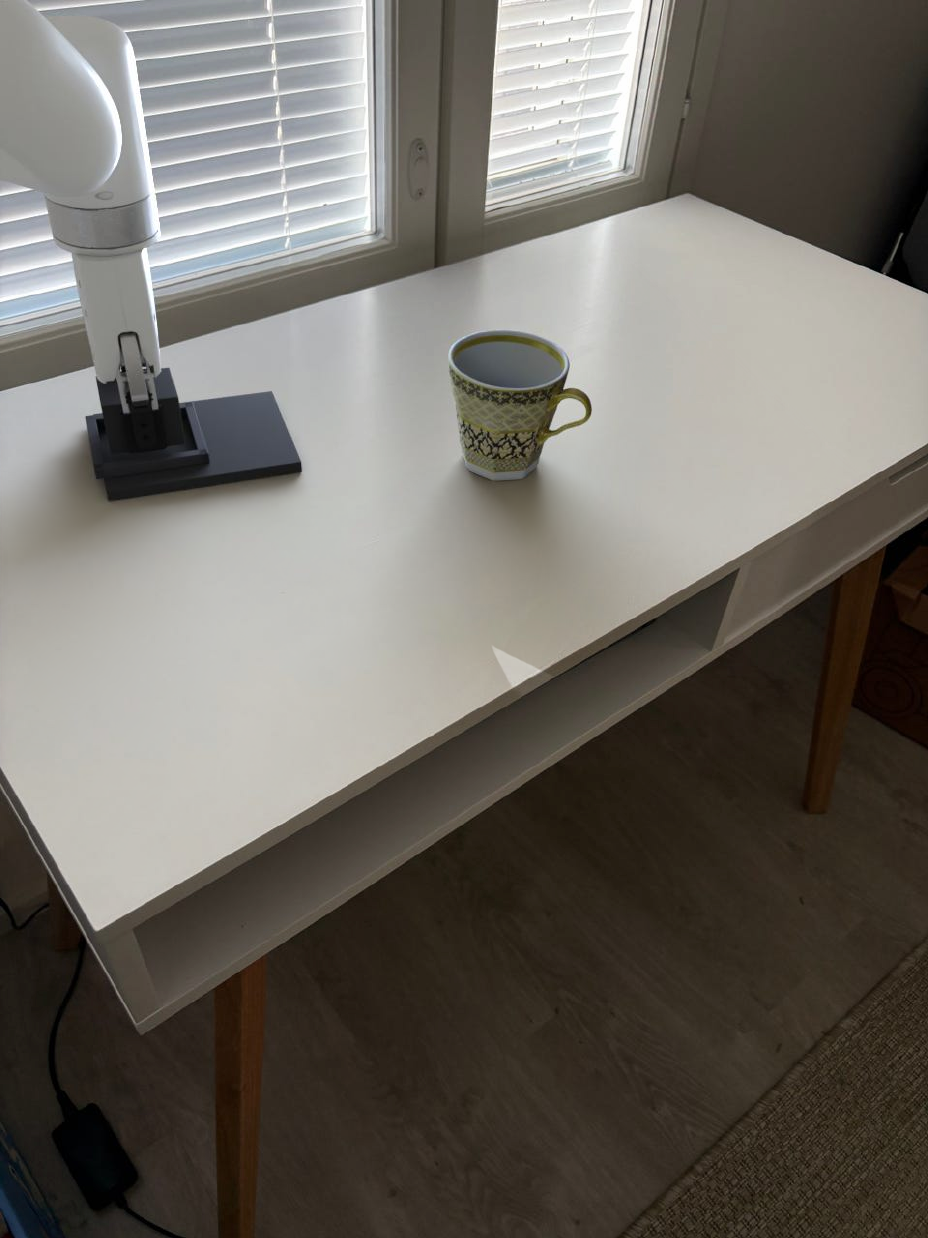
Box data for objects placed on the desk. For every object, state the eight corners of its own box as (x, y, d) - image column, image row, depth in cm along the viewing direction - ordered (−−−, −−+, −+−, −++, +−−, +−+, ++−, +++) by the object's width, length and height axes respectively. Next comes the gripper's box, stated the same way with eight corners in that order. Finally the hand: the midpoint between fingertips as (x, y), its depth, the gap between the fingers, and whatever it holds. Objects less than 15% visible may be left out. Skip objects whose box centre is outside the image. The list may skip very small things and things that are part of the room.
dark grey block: (111, 454, 83) (100, 406, 80) (105, 422, 86) (95, 375, 83) (185, 444, 85) (178, 396, 82) (176, 413, 88) (169, 366, 85)
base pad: (100, 502, 82) (95, 482, 81) (87, 424, 90) (83, 404, 89) (302, 471, 87) (300, 451, 85) (272, 400, 95) (271, 381, 93)
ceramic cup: (420, 464, 88) (424, 361, 81) (482, 416, 95) (491, 317, 88) (548, 521, 83) (563, 416, 77) (604, 467, 90) (623, 365, 83)
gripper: (42, 176, 78) (88, 386, 90) (57, 269, 66) (107, 495, 79) (143, 170, 80) (174, 376, 92) (173, 259, 68) (204, 480, 81)
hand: (143, 428), depth 85 cm, fingers closed on dark grey block, 5 cm apart
